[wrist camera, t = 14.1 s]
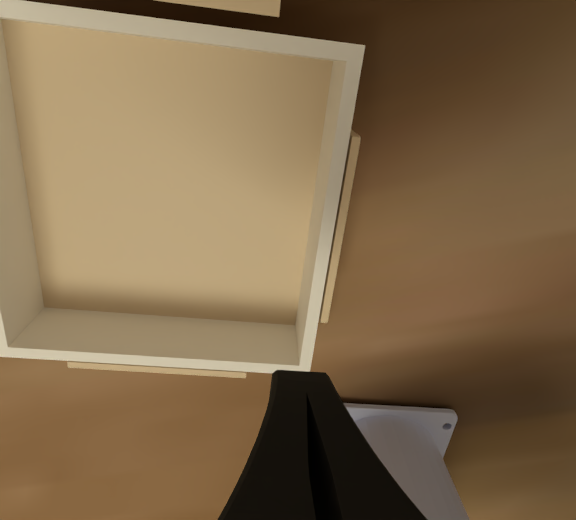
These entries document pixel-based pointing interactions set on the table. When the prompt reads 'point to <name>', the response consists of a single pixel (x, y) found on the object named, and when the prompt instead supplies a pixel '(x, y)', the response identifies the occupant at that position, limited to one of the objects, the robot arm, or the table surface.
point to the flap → (237, 5)
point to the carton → (169, 190)
